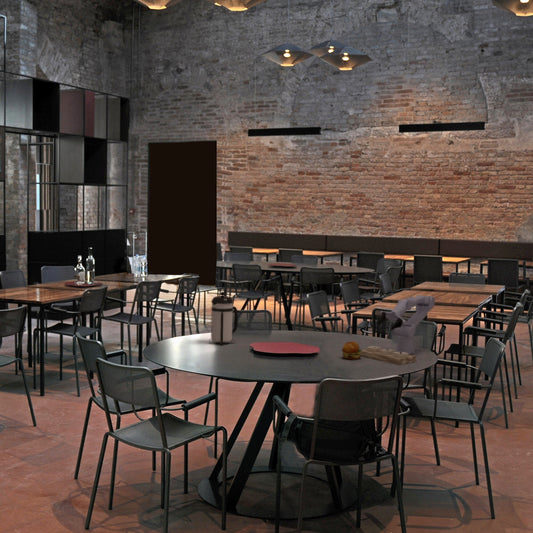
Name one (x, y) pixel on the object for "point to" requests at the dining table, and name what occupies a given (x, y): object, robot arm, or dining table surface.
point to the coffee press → (223, 319)
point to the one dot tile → (374, 348)
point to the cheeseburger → (351, 350)
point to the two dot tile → (386, 351)
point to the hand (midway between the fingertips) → (385, 325)
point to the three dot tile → (400, 354)
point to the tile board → (387, 357)
